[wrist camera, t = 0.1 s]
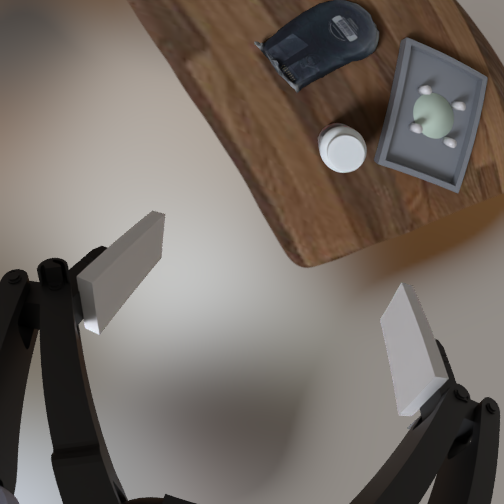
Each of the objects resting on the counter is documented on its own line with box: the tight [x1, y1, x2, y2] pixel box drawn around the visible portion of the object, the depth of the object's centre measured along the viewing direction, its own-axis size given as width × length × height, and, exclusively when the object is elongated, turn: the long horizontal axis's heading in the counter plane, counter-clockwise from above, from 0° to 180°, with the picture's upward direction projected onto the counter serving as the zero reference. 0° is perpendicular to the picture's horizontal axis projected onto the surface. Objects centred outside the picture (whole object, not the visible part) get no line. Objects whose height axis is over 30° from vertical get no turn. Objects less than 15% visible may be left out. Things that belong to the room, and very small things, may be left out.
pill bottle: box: [318, 123, 366, 173], centre depth 33 cm, size 5×5×10 cm
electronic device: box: [255, 0, 379, 92], centre depth 30 cm, size 9×6×15 cm
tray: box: [374, 37, 488, 193], centre depth 31 cm, size 18×13×4 cm
